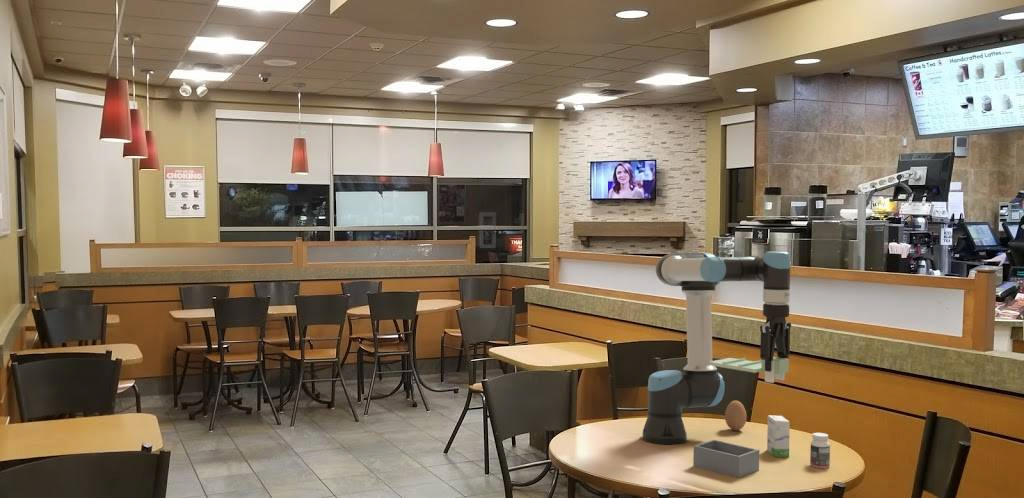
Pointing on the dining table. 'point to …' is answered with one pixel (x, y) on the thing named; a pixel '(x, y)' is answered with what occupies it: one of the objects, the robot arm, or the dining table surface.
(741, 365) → the lid
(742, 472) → the tub
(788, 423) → the ink box
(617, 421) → the dining table surface
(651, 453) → the dining table surface
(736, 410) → the egg
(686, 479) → the dining table surface
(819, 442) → the pill bottle
